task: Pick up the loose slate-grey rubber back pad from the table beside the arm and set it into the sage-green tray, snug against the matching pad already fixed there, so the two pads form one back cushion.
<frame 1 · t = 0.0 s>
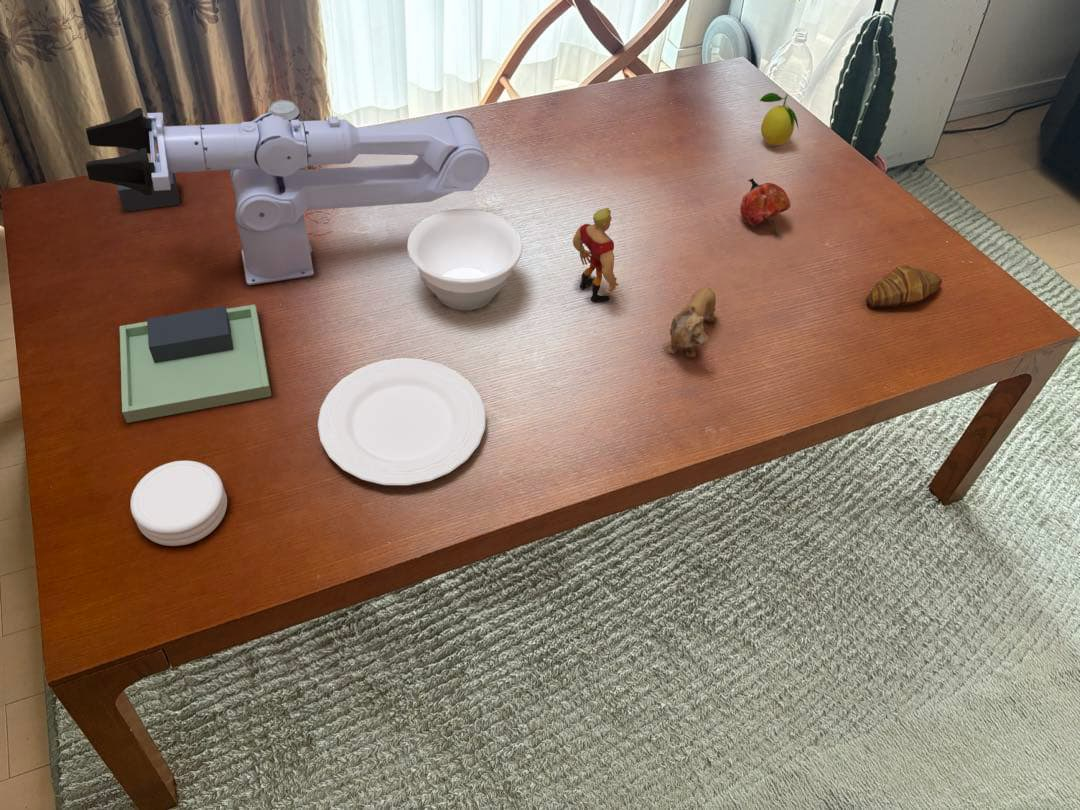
hand: (87, 153, 115), 22 cm above the table, tool horizontal, fingers open, 7 cm apart
plate: (403, 427, 117), on the table
tray: (196, 366, 121), on the table
white short cylinder: (183, 512, 107), on the table
lion figurine: (690, 342, 130), on the table
lemon: (771, 146, 164), on the table
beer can: (293, 173, 150), on the table
croissant: (900, 297, 139), on the table
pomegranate: (760, 224, 149), on the table
action figure: (593, 293, 136), on the table
loose pad: (151, 198, 144), on the table
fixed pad: (192, 342, 123), resting on tray
bowl: (465, 290, 134), on the table
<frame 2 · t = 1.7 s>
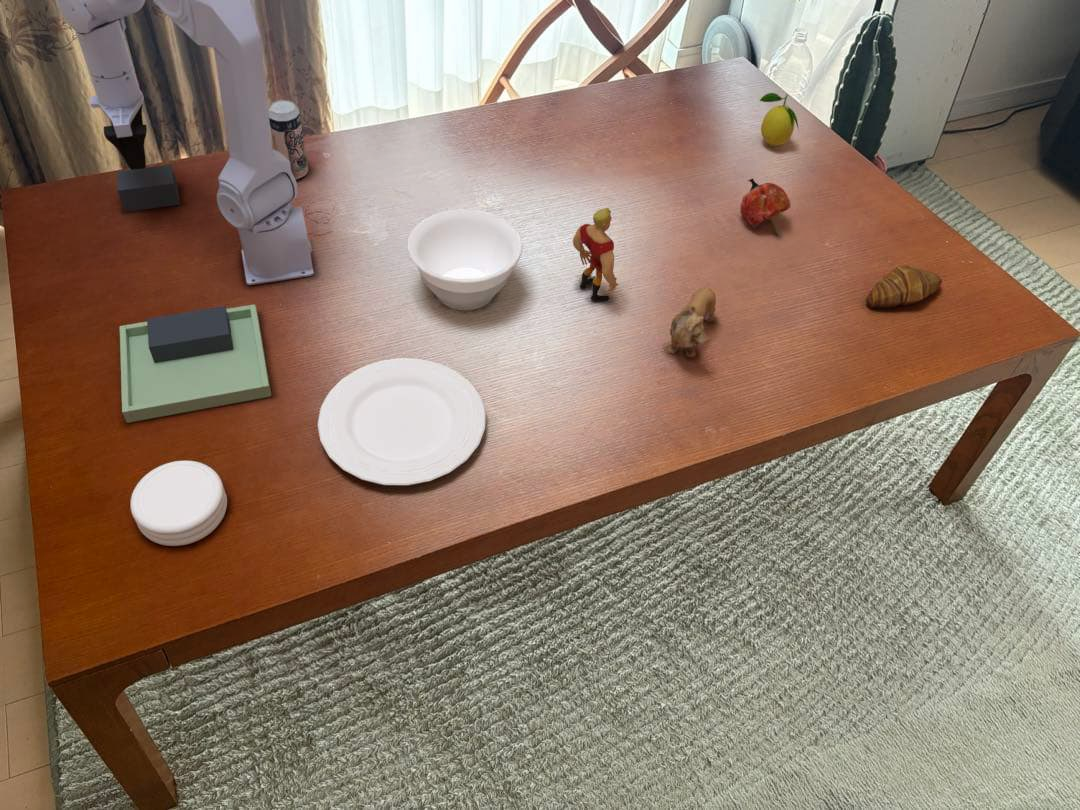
hand: (137, 152, 138), 8 cm above the table, tool pointing down, fingers open, 7 cm apart
nothing on the table moved.
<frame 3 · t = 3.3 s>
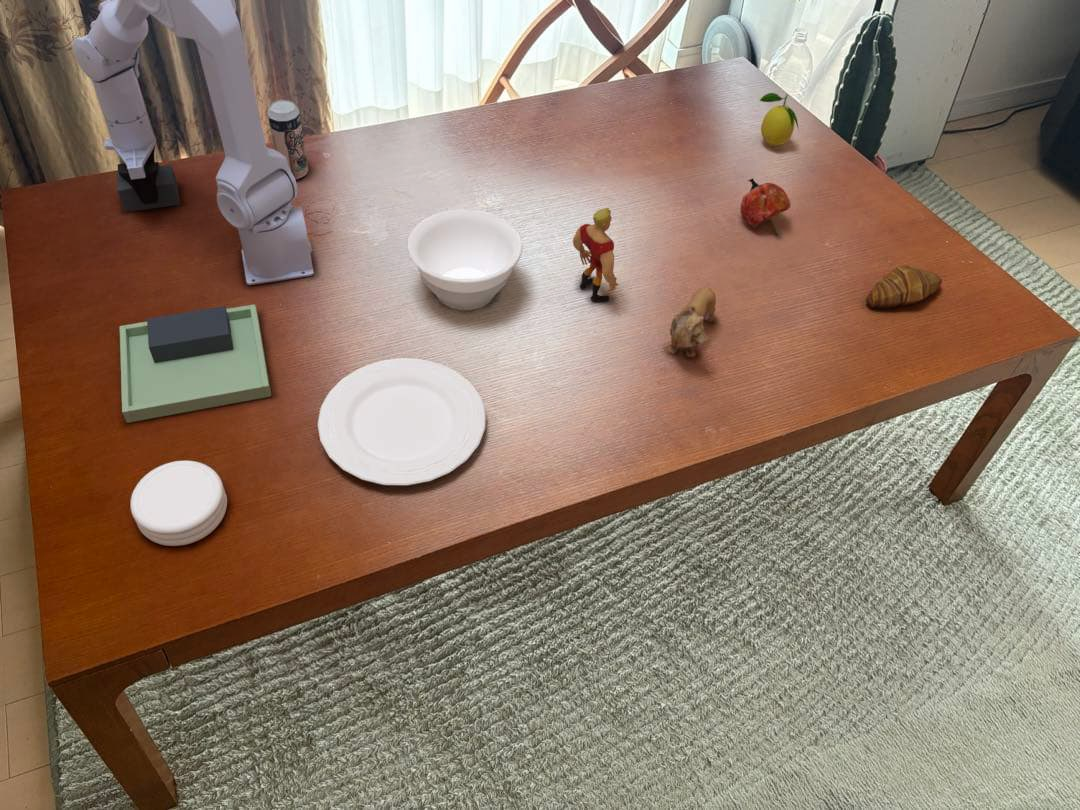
hand: (149, 191, 143), 1 cm above the table, tool pointing down, fingers closed on loose pad, 5 cm apart
loose pad: (151, 198, 144), on the table, touching gripper
everything else where it was.
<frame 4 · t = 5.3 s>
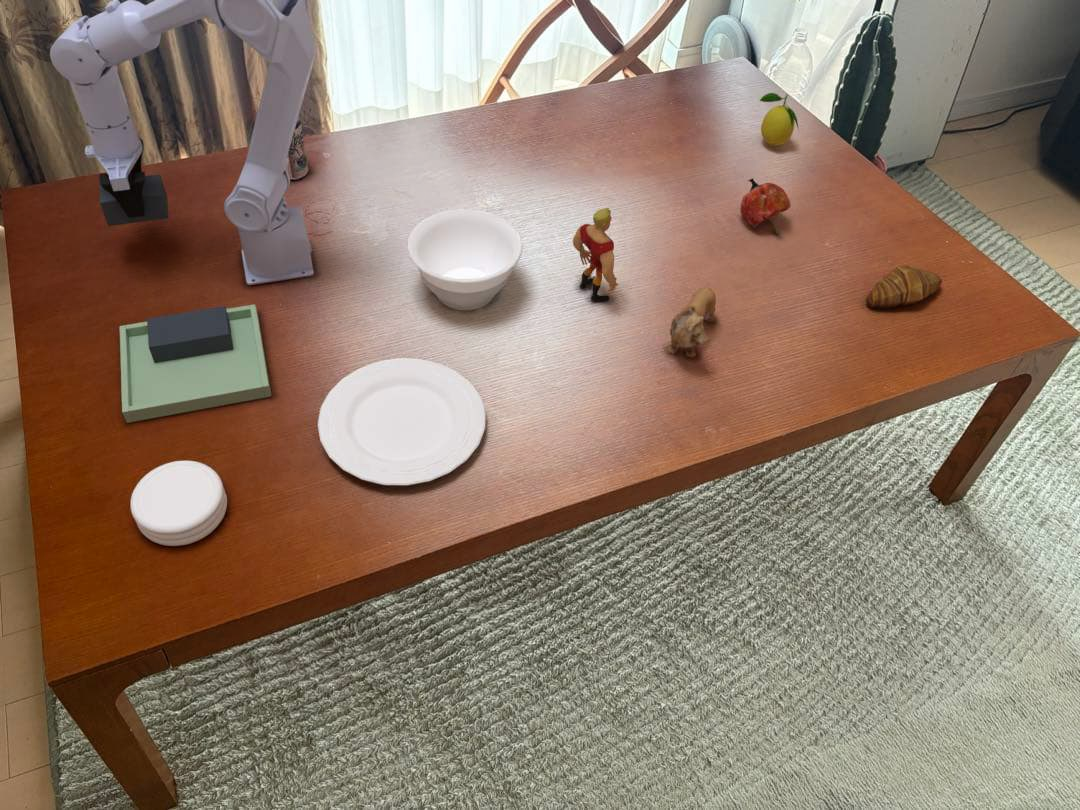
hand: (136, 203, 130), 8 cm above the table, tool pointing down, fingers closed on loose pad, 5 cm apart
loose pad: (138, 211, 131), point 7 cm above the table, touching gripper
everything else where it was.
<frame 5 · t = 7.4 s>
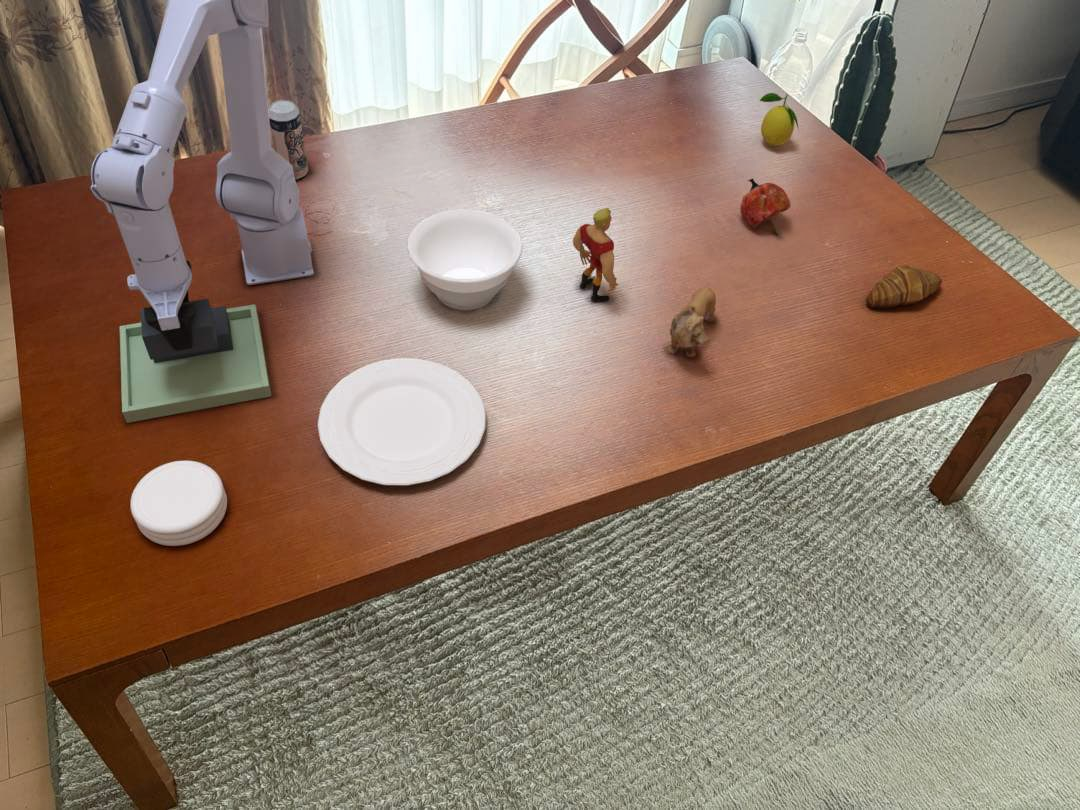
hand: (182, 332, 115), 8 cm above the table, tool pointing down, fingers closed on loose pad, 5 cm apart
loose pad: (183, 340, 116), point 6 cm above the table, touching gripper
everything else where it was.
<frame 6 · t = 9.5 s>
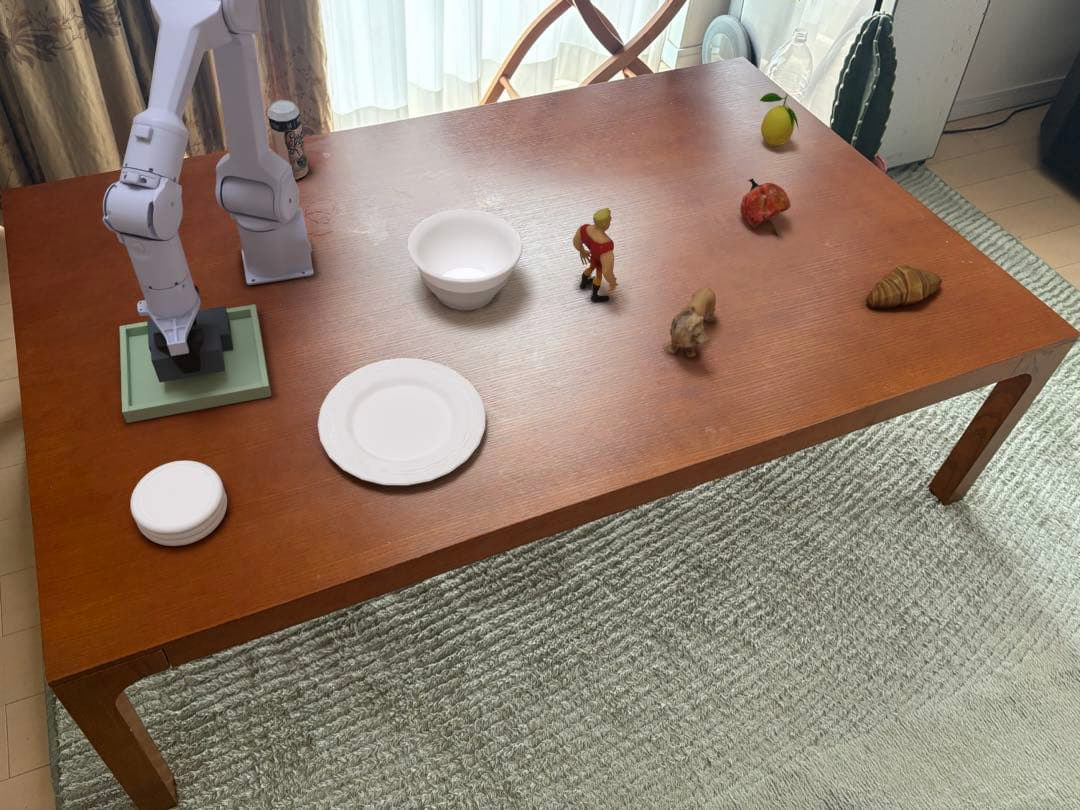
hand: (190, 355, 117), 4 cm above the table, tool pointing down, fingers closed on loose pad, 5 cm apart
loose pad: (191, 363, 118), point 3 cm above the table, touching gripper
everything else where it was.
when the fingers open (4 cm above the table, at t = 11.8 s): loose pad drops 2 cm, resting on tray.
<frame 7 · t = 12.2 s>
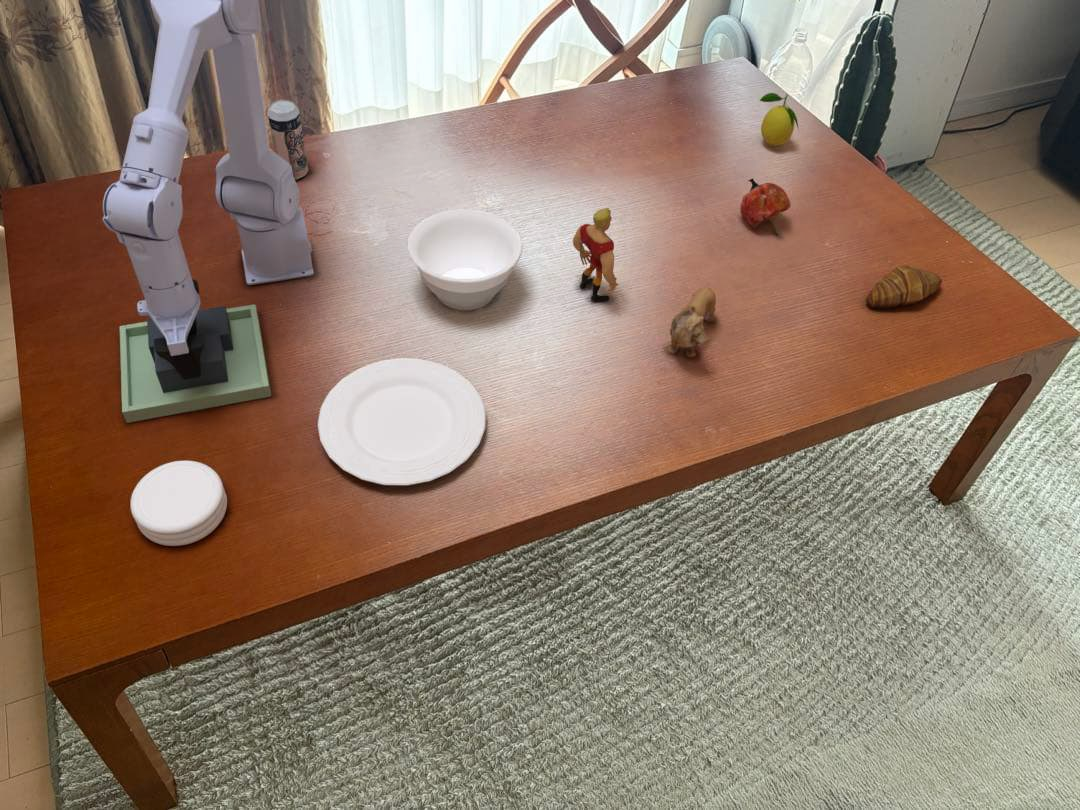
hand: (190, 355, 117), 4 cm above the table, tool pointing down, fingers open, 7 cm apart
loose pad: (194, 373, 120), point 1 cm above the table, touching tray
everything else where it was.
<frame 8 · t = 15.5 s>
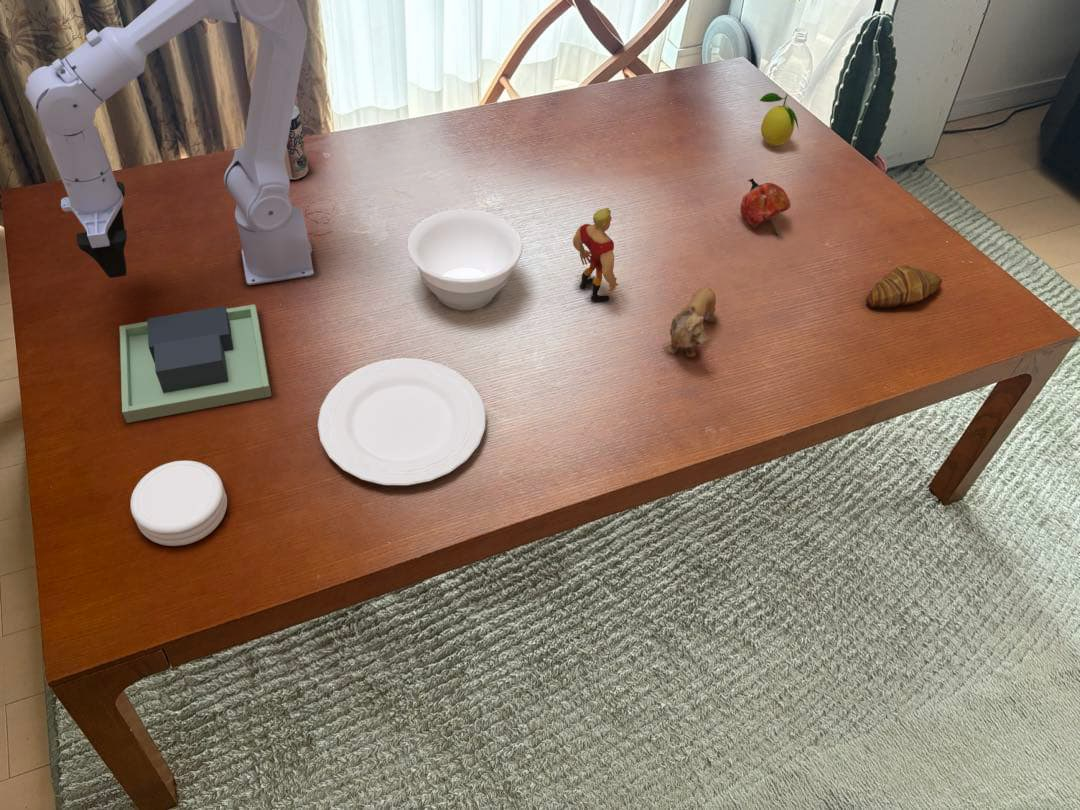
hand: (117, 256, 121), 9 cm above the table, tool pointing down, fingers open, 7 cm apart
nothing on the table moved.
at the end: loose pad 0.2 cm from the target spot in the tray, point 0.6 cm above the tray's base; loose pad 5.9 cm from the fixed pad (horizontally); loose pad tilted 0° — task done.
